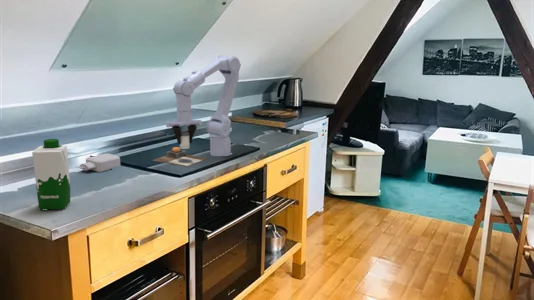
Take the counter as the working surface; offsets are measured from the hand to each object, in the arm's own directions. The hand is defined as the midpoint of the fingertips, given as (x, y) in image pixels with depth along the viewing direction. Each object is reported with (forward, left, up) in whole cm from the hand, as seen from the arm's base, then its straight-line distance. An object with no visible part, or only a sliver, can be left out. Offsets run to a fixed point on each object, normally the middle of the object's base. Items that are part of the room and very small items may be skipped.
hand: (184, 143), depth 182 cm
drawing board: (-2, -3, -8) cm, 9 cm away
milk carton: (+59, -3, -9) cm, 60 cm away
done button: (-5, -8, -6) cm, 12 cm away
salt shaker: (0, 0, -2) cm, 2 cm away
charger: (+25, -23, -9) cm, 36 cm away
